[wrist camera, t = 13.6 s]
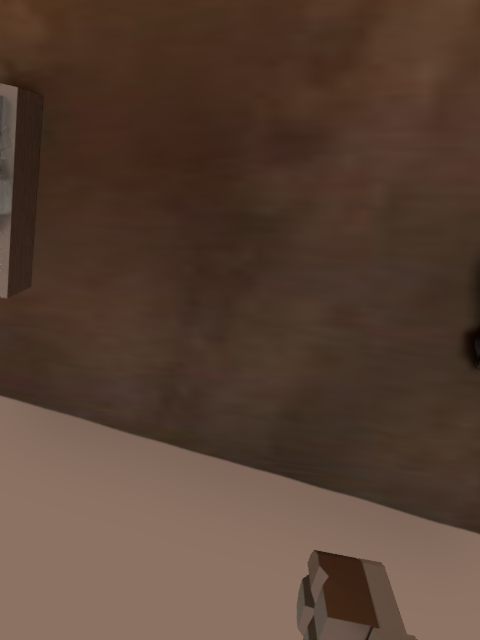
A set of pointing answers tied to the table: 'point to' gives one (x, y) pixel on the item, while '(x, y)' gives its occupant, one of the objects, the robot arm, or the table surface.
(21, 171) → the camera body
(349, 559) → the robot arm
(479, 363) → the night vision scope
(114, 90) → the table surface
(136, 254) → the table surface
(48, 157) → the table surface
